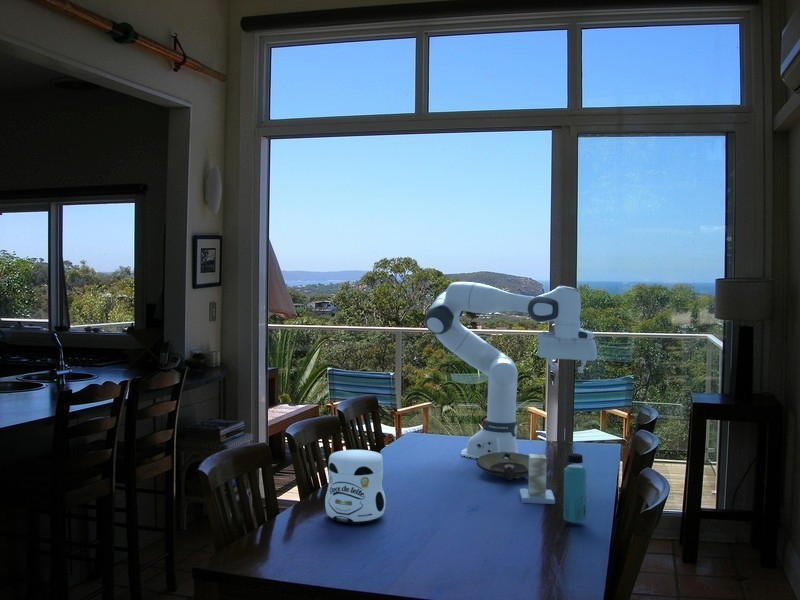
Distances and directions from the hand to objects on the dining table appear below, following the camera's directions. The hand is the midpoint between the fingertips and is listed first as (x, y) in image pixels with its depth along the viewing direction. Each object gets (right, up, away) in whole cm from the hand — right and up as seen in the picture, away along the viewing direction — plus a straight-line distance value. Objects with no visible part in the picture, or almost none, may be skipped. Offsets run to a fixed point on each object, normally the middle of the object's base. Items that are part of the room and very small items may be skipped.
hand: (566, 371), depth 252 cm
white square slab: (-15, -38, -24) cm, 47 cm away
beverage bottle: (-9, -39, -48) cm, 62 cm away
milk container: (-71, -38, -46) cm, 92 cm away
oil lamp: (-21, -37, +1) cm, 43 cm away
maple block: (-15, -36, -24) cm, 46 cm away
